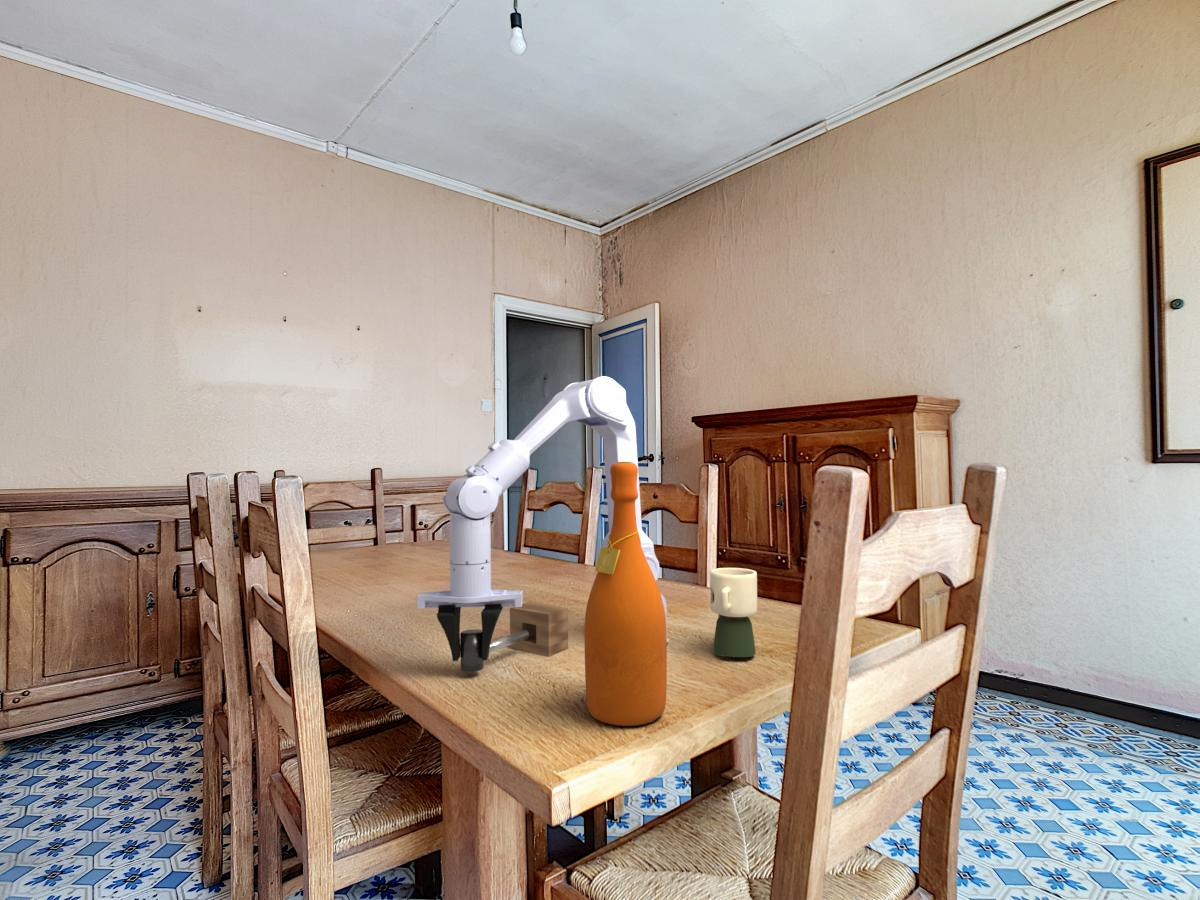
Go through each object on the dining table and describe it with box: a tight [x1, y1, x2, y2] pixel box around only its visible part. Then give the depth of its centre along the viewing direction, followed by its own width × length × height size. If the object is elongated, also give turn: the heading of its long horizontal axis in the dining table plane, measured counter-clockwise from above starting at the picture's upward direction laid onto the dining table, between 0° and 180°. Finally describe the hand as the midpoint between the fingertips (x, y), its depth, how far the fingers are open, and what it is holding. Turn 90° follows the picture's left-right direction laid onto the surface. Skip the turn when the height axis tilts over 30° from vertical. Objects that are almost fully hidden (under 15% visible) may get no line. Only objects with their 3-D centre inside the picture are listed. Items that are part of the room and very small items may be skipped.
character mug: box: [709, 567, 758, 660], centre depth 93 cm, size 11×7×13 cm, turn 152°
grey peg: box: [459, 628, 529, 673], centre depth 90 cm, size 13×3×5 cm, turn 146°
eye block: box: [509, 601, 569, 657], centre depth 98 cm, size 5×8×6 cm, turn 56°
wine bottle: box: [583, 462, 668, 727], centre depth 73 cm, size 10×10×30 cm
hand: (470, 658), depth 86 cm, fingers open, 3 cm apart
